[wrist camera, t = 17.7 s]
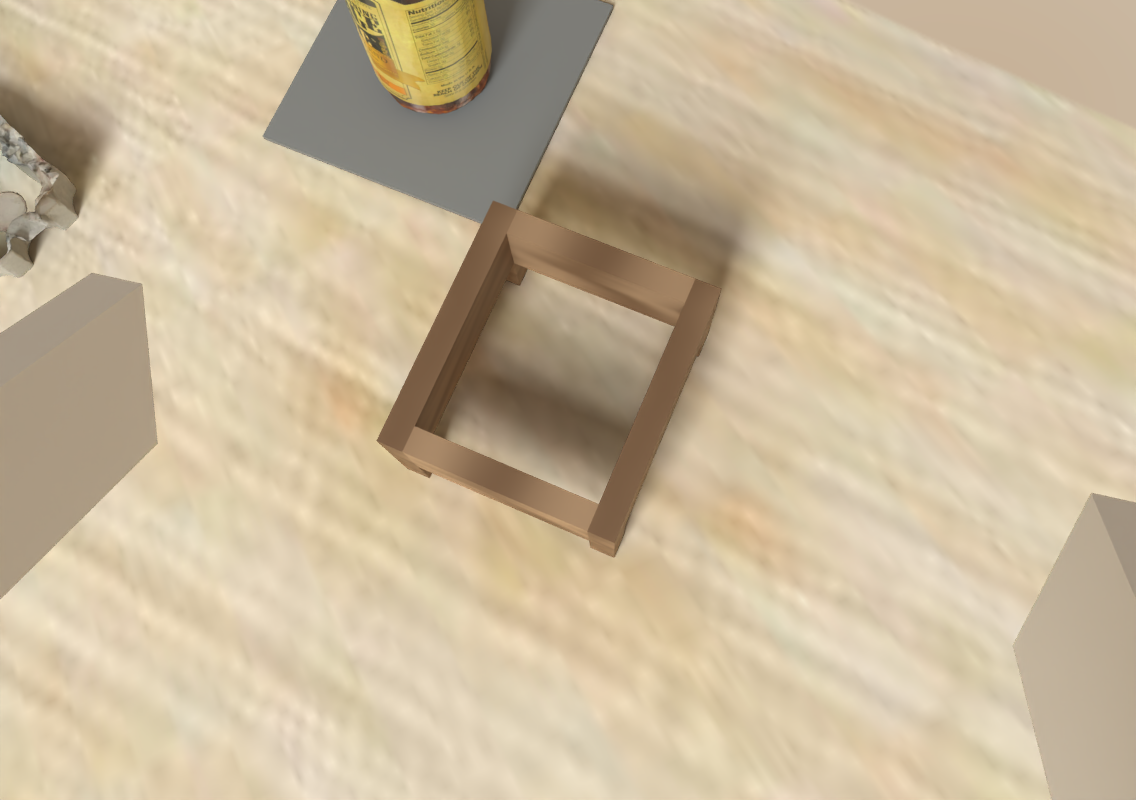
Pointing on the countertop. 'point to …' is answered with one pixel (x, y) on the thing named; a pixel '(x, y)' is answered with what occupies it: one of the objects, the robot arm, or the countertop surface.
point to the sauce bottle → (426, 49)
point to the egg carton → (49, 205)
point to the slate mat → (451, 140)
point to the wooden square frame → (490, 261)
